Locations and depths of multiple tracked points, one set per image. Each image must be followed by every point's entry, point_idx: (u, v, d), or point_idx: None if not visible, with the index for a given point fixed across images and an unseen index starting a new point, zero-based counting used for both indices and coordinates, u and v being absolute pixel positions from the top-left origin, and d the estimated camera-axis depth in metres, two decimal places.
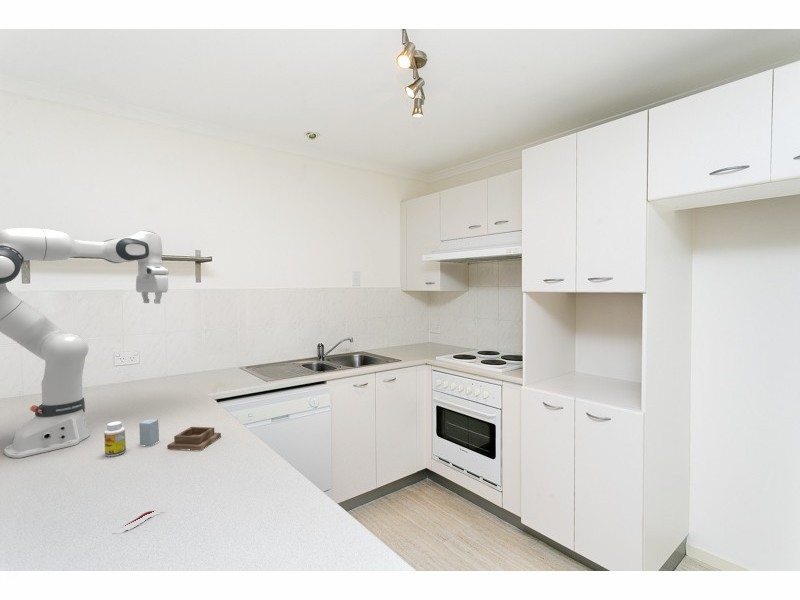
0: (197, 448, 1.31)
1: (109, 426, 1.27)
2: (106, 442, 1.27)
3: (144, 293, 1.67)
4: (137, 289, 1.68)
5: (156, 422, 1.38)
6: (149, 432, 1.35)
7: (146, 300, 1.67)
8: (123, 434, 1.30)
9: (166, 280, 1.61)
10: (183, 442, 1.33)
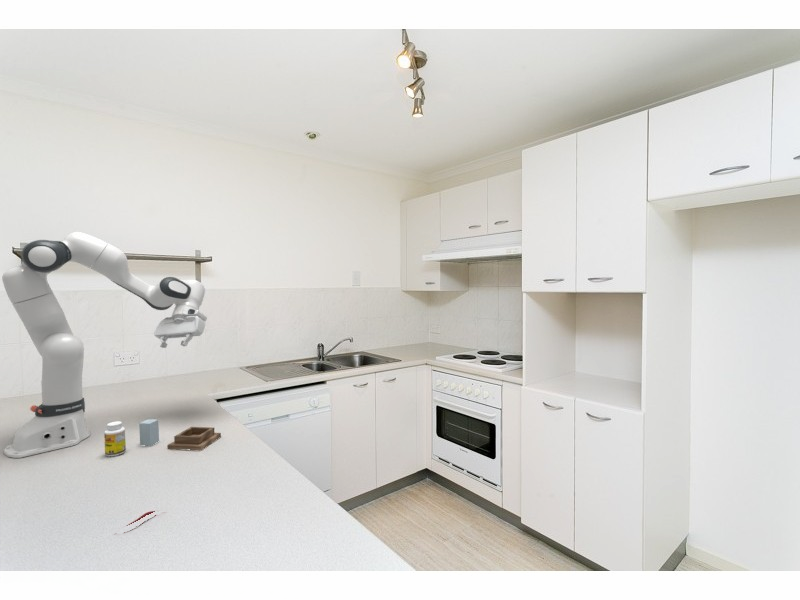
0: (197, 448, 1.31)
1: (109, 426, 1.27)
2: (106, 442, 1.27)
3: (164, 337, 1.56)
4: (157, 332, 1.57)
5: (156, 422, 1.38)
6: (149, 432, 1.35)
7: (164, 344, 1.54)
8: (123, 434, 1.30)
9: (204, 324, 1.58)
10: (183, 442, 1.33)
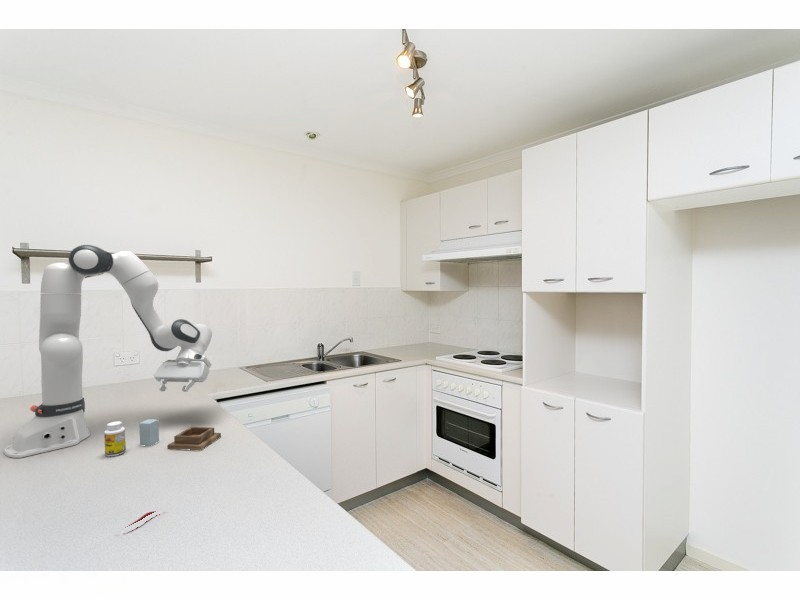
0: (197, 448, 1.31)
1: (109, 426, 1.27)
2: (106, 442, 1.27)
3: (165, 380, 1.52)
4: (158, 374, 1.53)
5: (156, 422, 1.38)
6: (149, 432, 1.35)
7: (164, 387, 1.50)
8: (123, 434, 1.30)
9: (208, 371, 1.56)
10: (183, 442, 1.33)
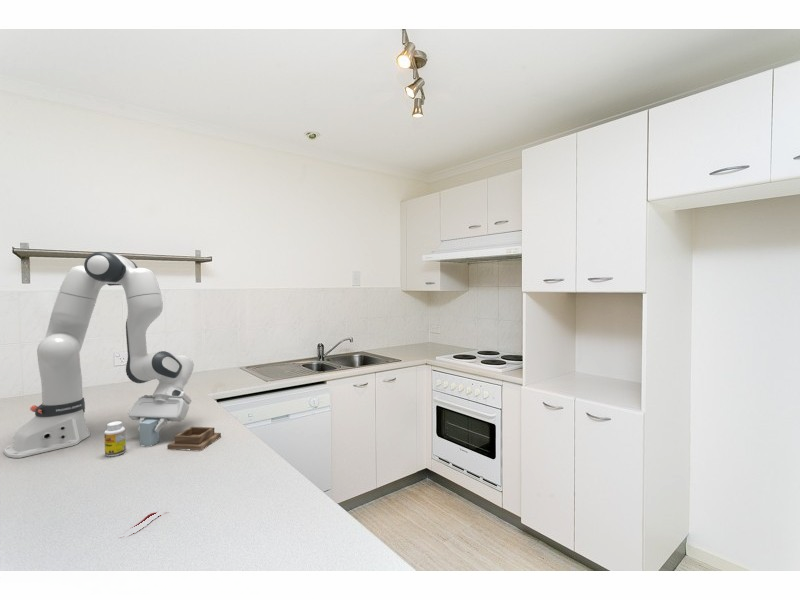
0: (197, 448, 1.31)
1: (109, 426, 1.27)
2: (106, 442, 1.27)
3: (144, 419, 1.39)
4: (132, 412, 1.40)
5: (156, 422, 1.38)
6: (149, 432, 1.35)
7: None
8: (123, 434, 1.30)
9: (187, 409, 1.43)
10: (183, 442, 1.33)
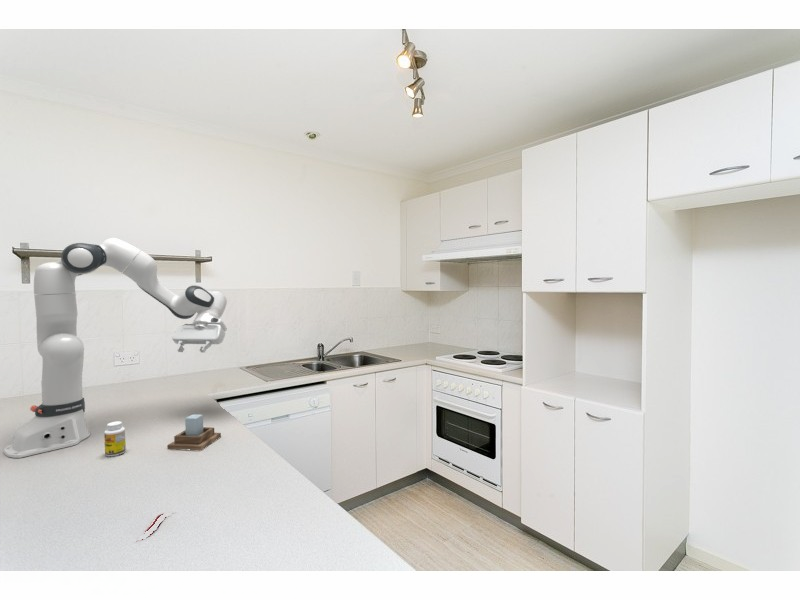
0: (197, 448, 1.31)
1: (109, 426, 1.27)
2: (106, 442, 1.27)
3: (182, 342, 1.58)
4: (175, 336, 1.58)
5: (201, 417, 1.38)
6: (195, 427, 1.35)
7: (182, 348, 1.56)
8: (123, 434, 1.30)
9: (224, 334, 1.61)
10: (183, 442, 1.33)
